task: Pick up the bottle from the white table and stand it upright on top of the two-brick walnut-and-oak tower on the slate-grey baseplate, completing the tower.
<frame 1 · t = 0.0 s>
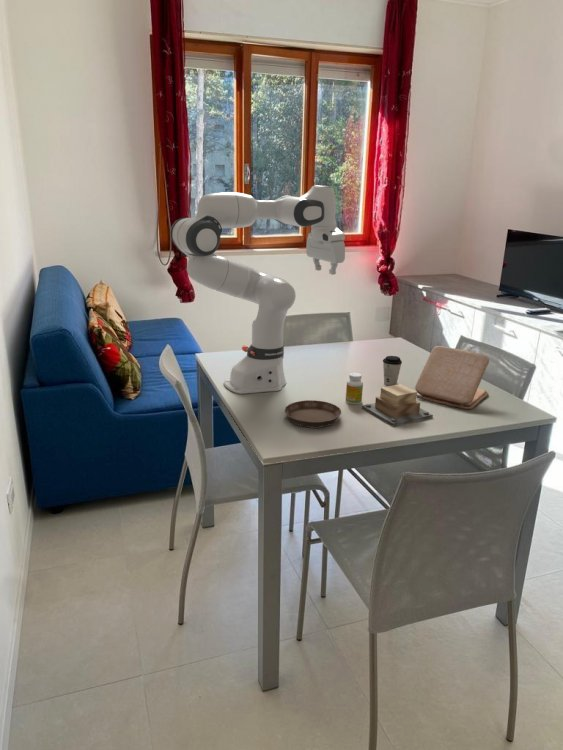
hand: (325, 272, 211), 39 cm above the table, tool pointing down, fingers open, 8 cm apart
plant saucer: (312, 419, 183), on the table
tower: (396, 412, 189), on the table
supplement bottle: (353, 402, 197), on the table
case: (451, 396, 205), on the table
coffee cup: (390, 384, 215), on the table
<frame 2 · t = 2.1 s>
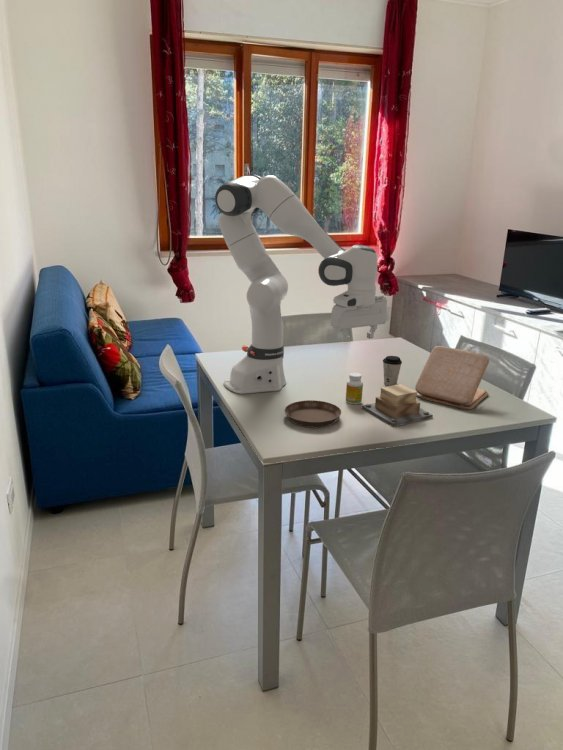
hand: (358, 339, 190), 22 cm above the table, tool pointing down, fingers open, 8 cm apart
nothing on the table moved.
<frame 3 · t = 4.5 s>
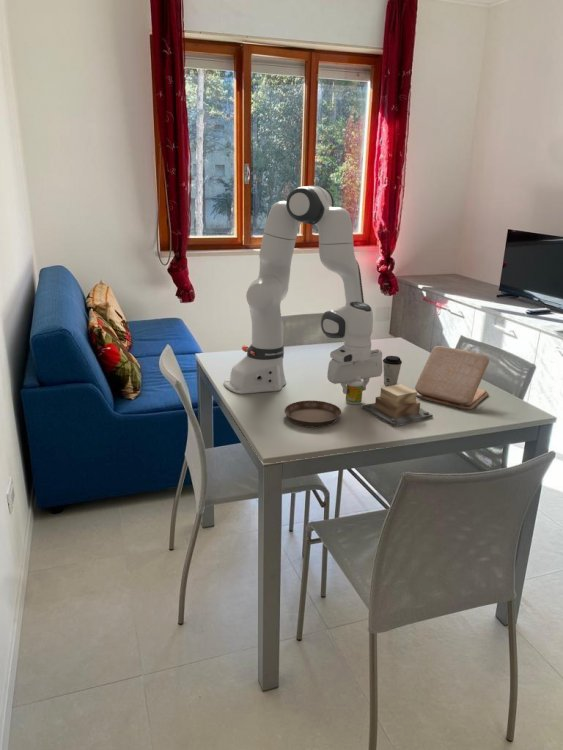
hand: (354, 391, 196), 4 cm above the table, tool pointing down, fingers closed on supplement bottle, 5 cm apart
supplement bottle: (353, 402, 197), on the table, touching gripper
everything else where it was.
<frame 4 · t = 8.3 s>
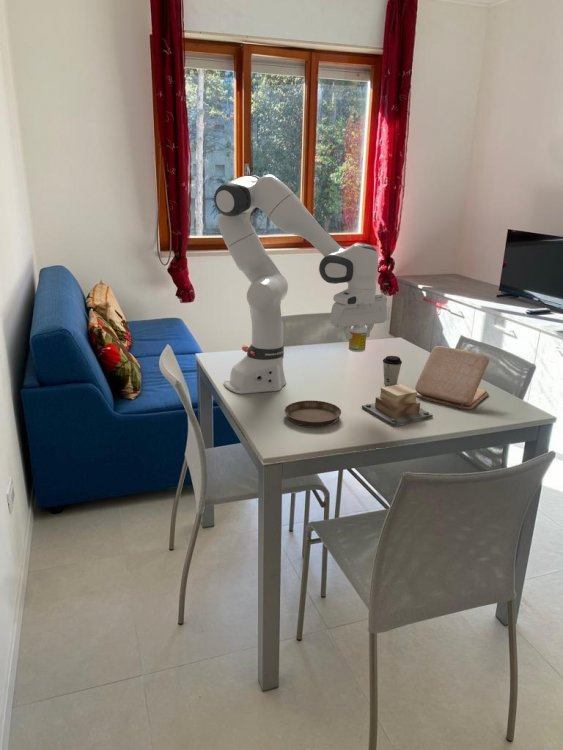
hand: (357, 337, 190), 22 cm above the table, tool pointing down, fingers closed on supplement bottle, 5 cm apart
supplement bottle: (356, 350, 191), point 18 cm above the table, touching gripper
everything else where it was.
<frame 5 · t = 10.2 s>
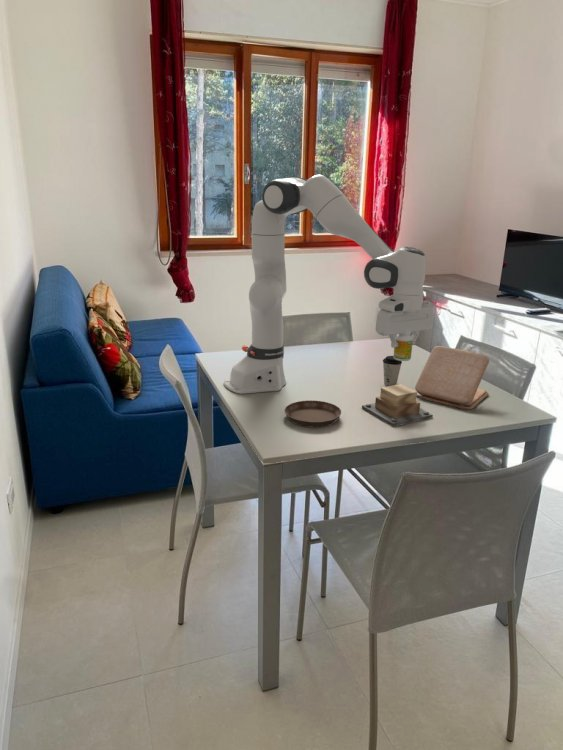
hand: (403, 346, 182), 22 cm above the table, tool pointing down, fingers closed on supplement bottle, 5 cm apart
supplement bottle: (401, 359, 183), point 18 cm above the table, touching gripper
everything else where it was.
when the fingers open (13 cm above the table, at t = 12.2 s): supplement bottle stays where it is, resting on tower.
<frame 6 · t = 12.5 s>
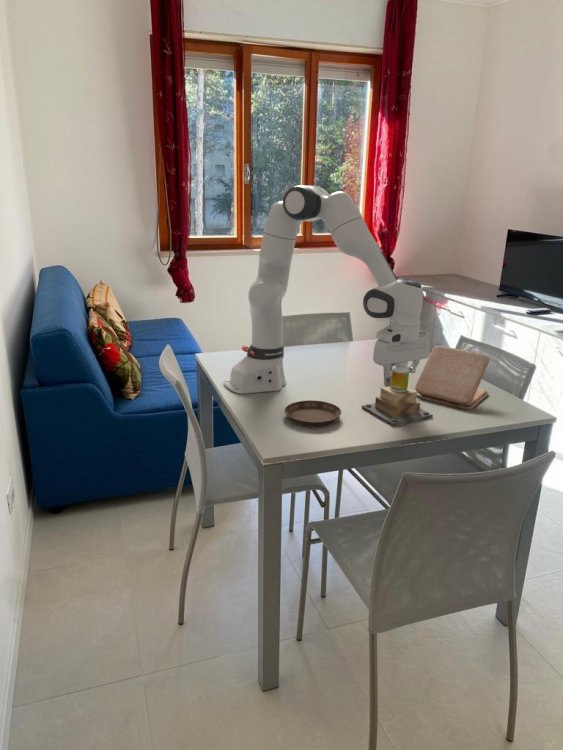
hand: (400, 374, 185), 13 cm above the table, tool pointing down, fingers open, 8 cm apart
supplement bottle: (398, 390, 186), point 8 cm above the table, touching tower
everything else where it was.
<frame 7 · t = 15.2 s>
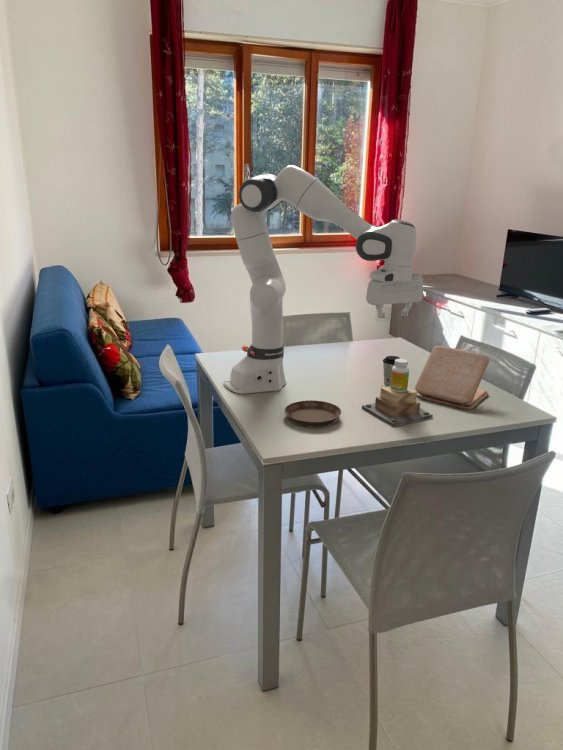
hand: (392, 316, 188), 30 cm above the table, tool pointing down, fingers open, 8 cm apart
nothing on the table moved.
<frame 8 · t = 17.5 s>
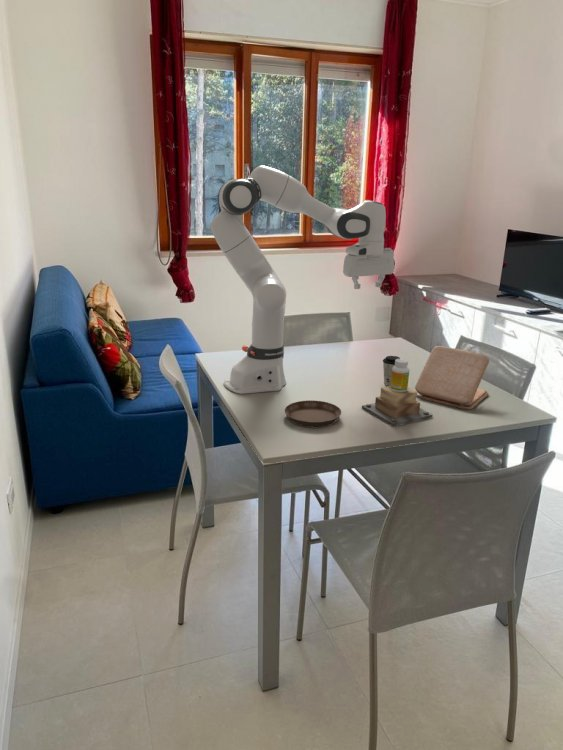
hand: (367, 287, 210), 34 cm above the table, tool pointing down, fingers open, 8 cm apart
nothing on the table moved.
at the end: supplement bottle 0.1 cm off-centre on the tower, point 7.8 cm above the tower's base; supplement bottle tilted 0°; the gripper is holding nothing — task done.
